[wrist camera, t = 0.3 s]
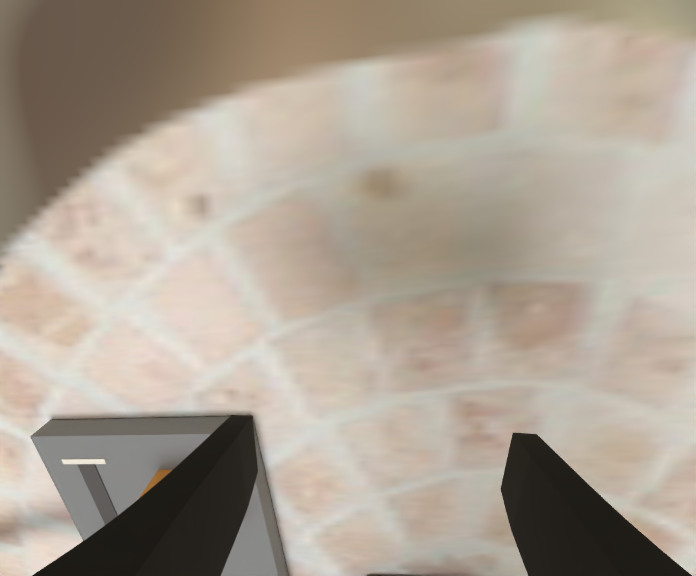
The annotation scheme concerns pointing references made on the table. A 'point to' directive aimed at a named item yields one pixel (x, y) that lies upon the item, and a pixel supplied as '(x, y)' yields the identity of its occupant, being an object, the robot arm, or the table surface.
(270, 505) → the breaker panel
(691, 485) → the table surface
